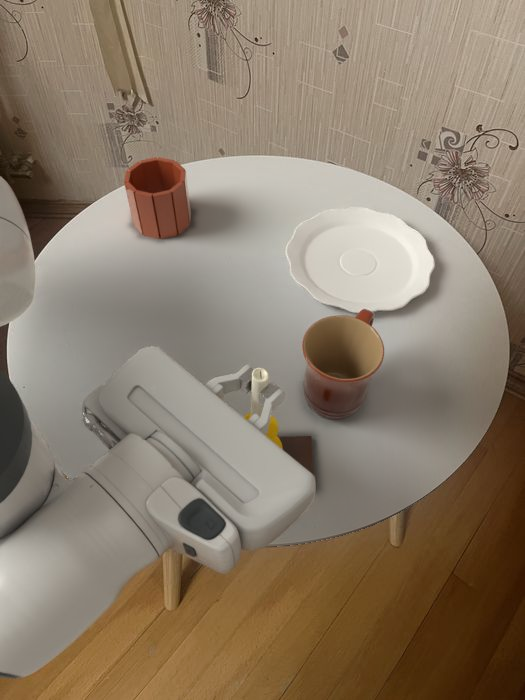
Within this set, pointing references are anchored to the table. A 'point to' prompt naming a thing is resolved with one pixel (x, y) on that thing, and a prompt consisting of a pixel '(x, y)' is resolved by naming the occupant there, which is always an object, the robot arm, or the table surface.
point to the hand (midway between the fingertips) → (266, 381)
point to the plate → (360, 259)
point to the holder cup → (158, 197)
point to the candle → (258, 384)
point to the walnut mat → (299, 450)
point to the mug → (340, 363)
